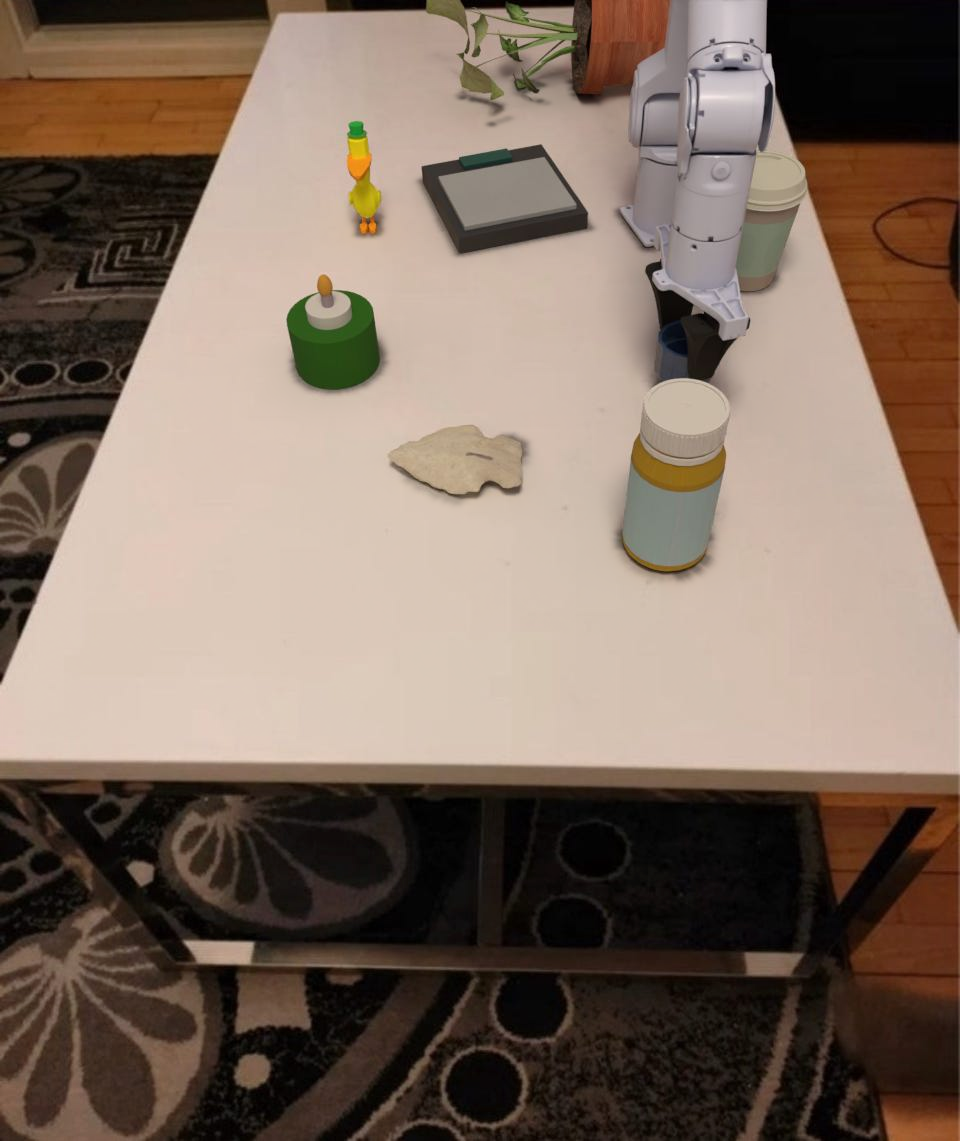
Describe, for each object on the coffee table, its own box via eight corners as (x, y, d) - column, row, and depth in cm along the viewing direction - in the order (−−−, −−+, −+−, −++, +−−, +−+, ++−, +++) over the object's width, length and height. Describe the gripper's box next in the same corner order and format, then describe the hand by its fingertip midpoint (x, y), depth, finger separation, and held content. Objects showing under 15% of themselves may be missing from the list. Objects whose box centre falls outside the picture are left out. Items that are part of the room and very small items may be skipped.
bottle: (615, 516, 86) (629, 378, 74) (696, 509, 86) (723, 370, 74) (629, 579, 81) (647, 443, 70) (715, 572, 82) (747, 435, 70)
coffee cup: (791, 259, 109) (816, 153, 99) (779, 306, 104) (804, 198, 94) (712, 247, 111) (729, 141, 101) (696, 291, 105) (713, 185, 96)
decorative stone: (520, 509, 88) (524, 484, 86) (383, 497, 87) (384, 471, 85) (519, 445, 93) (523, 420, 91) (390, 434, 93) (391, 408, 90)
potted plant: (659, 70, 141) (408, 64, 138) (682, -49, 129) (408, -57, 126) (680, 131, 132) (411, 127, 129) (707, 9, 120) (411, 2, 117)
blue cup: (698, 348, 96) (704, 313, 93) (724, 385, 93) (731, 350, 89) (644, 360, 95) (648, 326, 92) (668, 398, 92) (673, 363, 89)
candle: (314, 399, 97) (296, 312, 89) (284, 352, 101) (264, 265, 94) (393, 372, 99) (382, 284, 91) (360, 326, 104) (347, 240, 96)
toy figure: (382, 246, 113) (369, 142, 103) (350, 247, 113) (335, 144, 103) (385, 213, 117) (373, 111, 108) (354, 214, 117) (340, 112, 108)
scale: (541, 159, 124) (541, 139, 122) (587, 228, 114) (588, 207, 112) (422, 181, 121) (421, 161, 119) (459, 253, 111) (458, 232, 109)
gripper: (627, 186, 86) (615, 318, 96) (699, 282, 77) (677, 416, 87) (704, 171, 87) (684, 303, 97) (783, 264, 78) (752, 399, 88)
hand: (686, 356), depth 92 cm, fingers closed on blue cup, 5 cm apart
